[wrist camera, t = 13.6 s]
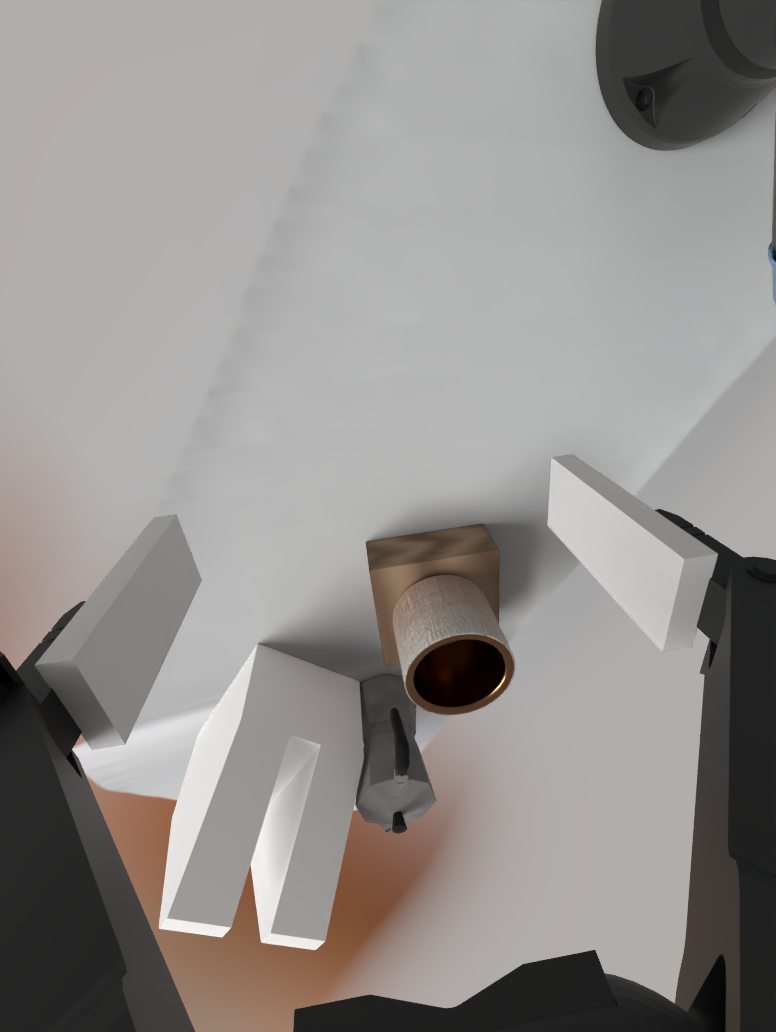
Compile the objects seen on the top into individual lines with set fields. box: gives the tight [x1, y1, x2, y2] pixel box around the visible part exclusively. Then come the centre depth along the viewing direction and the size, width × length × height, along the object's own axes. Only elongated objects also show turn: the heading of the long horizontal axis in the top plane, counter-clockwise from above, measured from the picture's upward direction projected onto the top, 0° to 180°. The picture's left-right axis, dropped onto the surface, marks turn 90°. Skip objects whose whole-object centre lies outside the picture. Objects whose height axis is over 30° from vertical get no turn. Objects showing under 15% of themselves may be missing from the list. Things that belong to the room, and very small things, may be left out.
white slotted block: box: [159, 644, 364, 950], centre depth 51 cm, size 19×15×25 cm
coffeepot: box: [355, 675, 436, 834], centre depth 55 cm, size 15×9×18 cm, turn 175°
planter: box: [393, 575, 515, 715], centre depth 45 cm, size 11×11×10 cm
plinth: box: [366, 524, 499, 666], centre depth 52 cm, size 14×14×6 cm
